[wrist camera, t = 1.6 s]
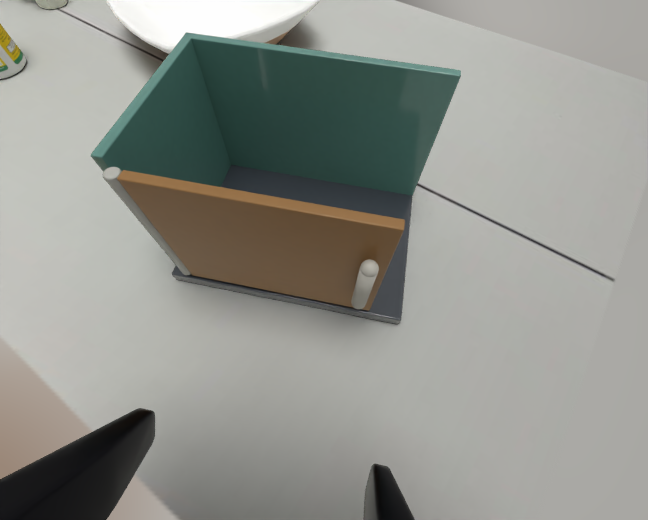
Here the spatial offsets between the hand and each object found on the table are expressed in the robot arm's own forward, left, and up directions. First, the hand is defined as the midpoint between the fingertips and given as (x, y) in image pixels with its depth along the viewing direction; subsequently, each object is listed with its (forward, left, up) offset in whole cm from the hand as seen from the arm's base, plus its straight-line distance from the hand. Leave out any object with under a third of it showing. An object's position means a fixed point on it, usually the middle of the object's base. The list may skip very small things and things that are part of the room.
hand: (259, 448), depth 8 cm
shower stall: (+15, +3, -13) cm, 19 cm away
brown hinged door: (+8, +4, -11) cm, 14 cm away
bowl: (+42, +20, -13) cm, 48 cm away
